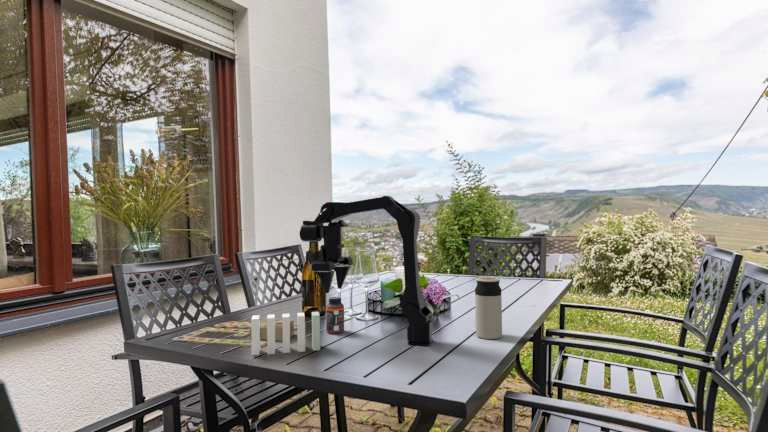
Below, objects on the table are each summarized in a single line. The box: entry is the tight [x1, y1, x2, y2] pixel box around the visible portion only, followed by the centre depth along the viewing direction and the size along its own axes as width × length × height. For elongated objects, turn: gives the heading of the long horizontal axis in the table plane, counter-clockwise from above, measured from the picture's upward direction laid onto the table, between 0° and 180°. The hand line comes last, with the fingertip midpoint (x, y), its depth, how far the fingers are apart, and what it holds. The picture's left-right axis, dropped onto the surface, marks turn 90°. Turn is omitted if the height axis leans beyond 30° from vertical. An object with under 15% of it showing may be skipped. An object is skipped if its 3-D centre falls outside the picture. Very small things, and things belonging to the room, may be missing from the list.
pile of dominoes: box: [171, 318, 307, 349], centre depth 148 cm, size 35×27×6 cm
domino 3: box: [281, 313, 291, 354], centre depth 128 cm, size 2×5×10 cm, turn 12°
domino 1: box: [250, 314, 261, 356], centre depth 126 cm, size 2×5×10 cm, turn 12°
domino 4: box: [296, 312, 306, 353], centre depth 129 cm, size 2×5×10 cm, turn 12°
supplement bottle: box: [325, 296, 345, 335], centre depth 147 cm, size 6×6×11 cm
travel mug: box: [474, 276, 503, 340], centre depth 139 cm, size 8×8×18 cm
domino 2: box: [266, 313, 276, 355], centre depth 127 cm, size 2×5×10 cm, turn 12°
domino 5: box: [311, 311, 321, 352], centre depth 130 cm, size 2×5×10 cm, turn 12°
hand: (333, 290), depth 142 cm, fingers open, 9 cm apart
